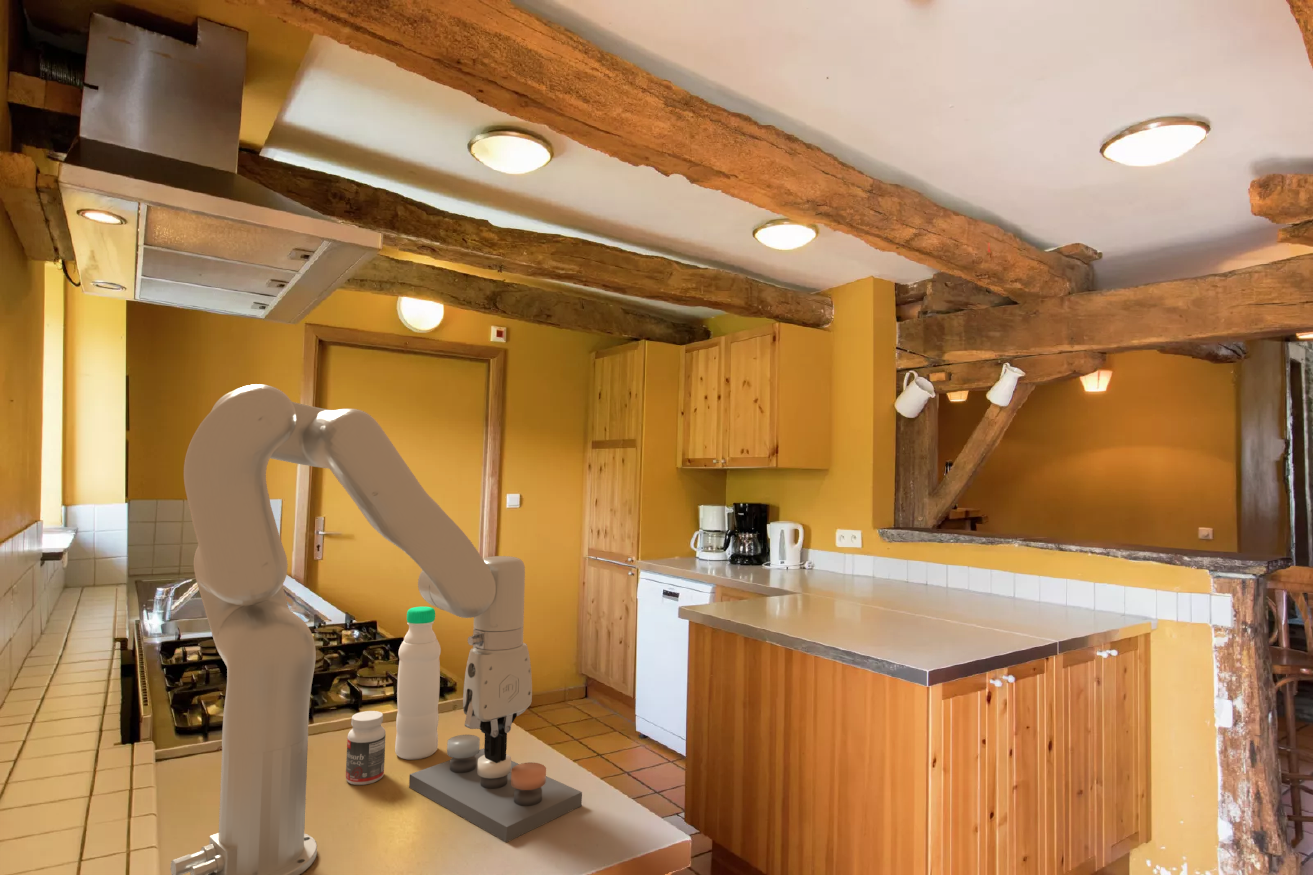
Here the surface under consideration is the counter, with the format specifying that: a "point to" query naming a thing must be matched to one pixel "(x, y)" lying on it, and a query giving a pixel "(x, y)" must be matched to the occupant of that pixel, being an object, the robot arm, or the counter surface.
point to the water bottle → (418, 687)
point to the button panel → (493, 797)
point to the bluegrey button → (463, 746)
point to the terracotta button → (528, 776)
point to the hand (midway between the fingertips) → (495, 758)
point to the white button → (493, 767)
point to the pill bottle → (365, 748)
